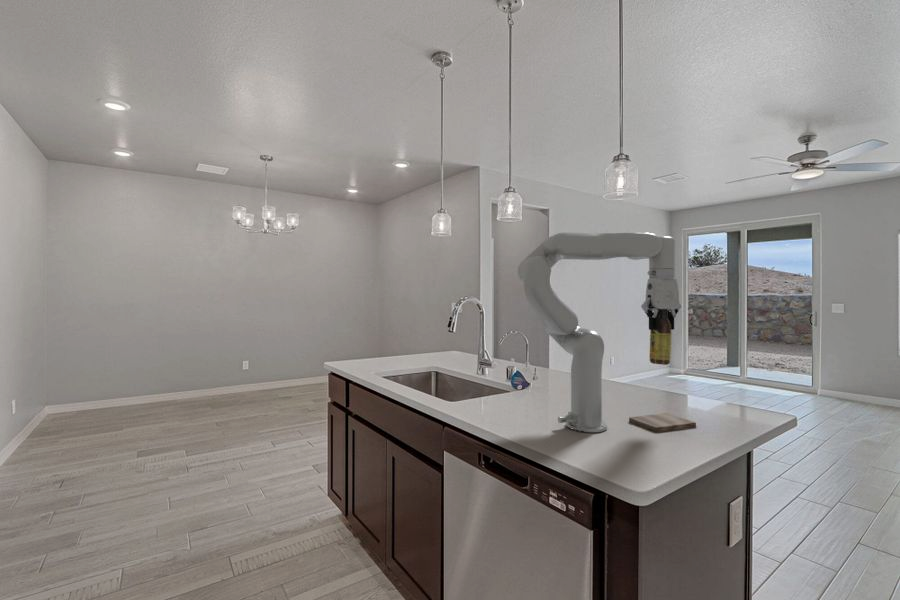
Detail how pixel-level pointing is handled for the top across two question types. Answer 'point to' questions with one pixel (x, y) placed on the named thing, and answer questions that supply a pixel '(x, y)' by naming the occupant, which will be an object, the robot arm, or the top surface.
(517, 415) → the top surface
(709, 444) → the top surface
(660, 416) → the walnut board
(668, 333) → the sauce bottle
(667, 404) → the top surface
